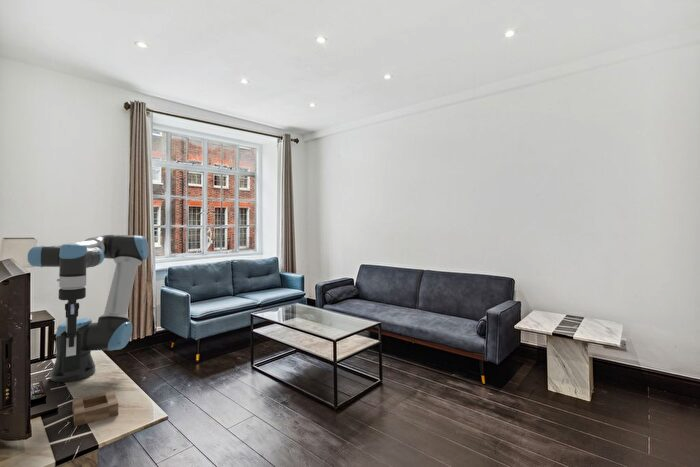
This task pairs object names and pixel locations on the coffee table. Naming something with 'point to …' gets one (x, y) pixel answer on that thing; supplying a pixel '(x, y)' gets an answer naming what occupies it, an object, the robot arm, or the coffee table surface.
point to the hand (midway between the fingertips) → (70, 352)
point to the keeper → (94, 407)
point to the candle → (70, 361)
